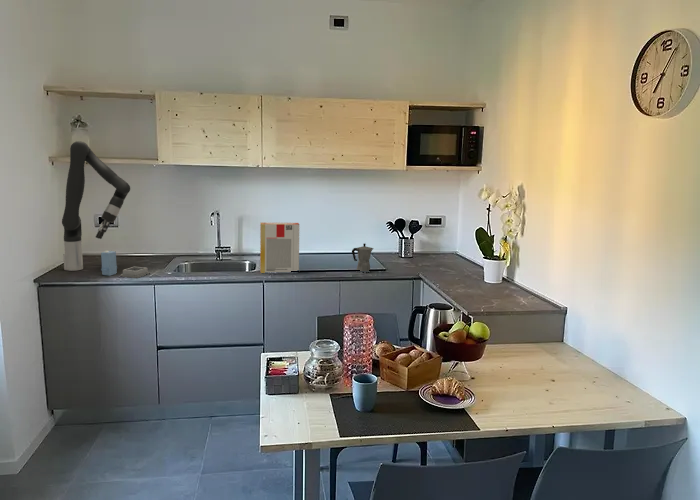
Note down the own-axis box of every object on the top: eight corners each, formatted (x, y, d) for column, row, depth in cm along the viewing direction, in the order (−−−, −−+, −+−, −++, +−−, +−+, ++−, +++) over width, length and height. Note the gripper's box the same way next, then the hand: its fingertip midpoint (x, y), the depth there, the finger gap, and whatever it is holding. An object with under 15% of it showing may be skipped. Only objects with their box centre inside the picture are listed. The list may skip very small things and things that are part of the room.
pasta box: (297, 270, 337) (298, 222, 331) (298, 273, 329) (299, 224, 323) (260, 270, 333) (260, 222, 327) (260, 273, 325) (260, 224, 319)
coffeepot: (368, 269, 346) (369, 241, 343) (376, 272, 338) (377, 244, 335) (347, 271, 339) (348, 243, 335) (355, 274, 330) (356, 245, 327)
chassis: (120, 276, 307) (120, 270, 306) (133, 272, 318) (133, 266, 318) (137, 278, 304) (137, 271, 304) (150, 273, 316) (149, 267, 315)
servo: (100, 275, 308) (99, 251, 306) (111, 272, 317) (109, 248, 314) (108, 276, 307) (106, 252, 304) (118, 273, 315) (117, 249, 313)
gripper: (102, 210, 323) (90, 235, 320) (106, 210, 311) (93, 235, 307) (115, 216, 326) (102, 240, 323) (119, 216, 314) (106, 241, 311)
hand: (98, 238), depth 315 cm, fingers open, 8 cm apart
